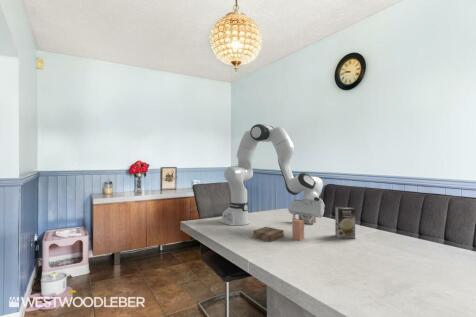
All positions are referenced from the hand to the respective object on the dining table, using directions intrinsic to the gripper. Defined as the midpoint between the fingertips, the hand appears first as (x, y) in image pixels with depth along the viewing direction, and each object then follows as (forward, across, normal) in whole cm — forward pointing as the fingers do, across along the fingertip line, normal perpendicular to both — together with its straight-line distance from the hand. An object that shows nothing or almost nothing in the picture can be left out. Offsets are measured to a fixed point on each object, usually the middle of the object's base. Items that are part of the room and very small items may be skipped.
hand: (301, 221), depth 146 cm
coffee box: (-5, +18, +18) cm, 26 cm away
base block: (+15, -14, -1) cm, 20 cm away
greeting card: (-17, -13, +30) cm, 37 cm away
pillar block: (+9, 0, +4) cm, 10 cm away
